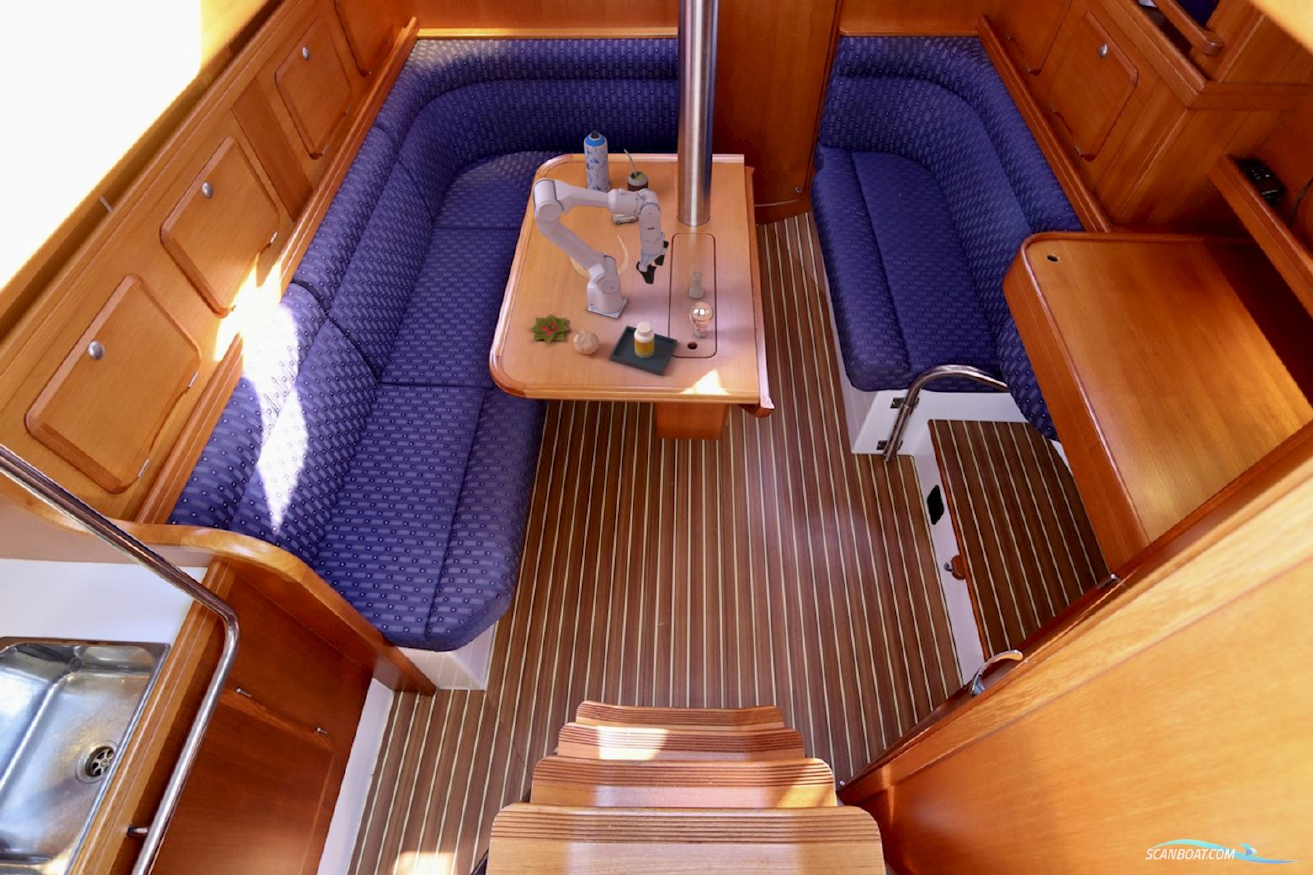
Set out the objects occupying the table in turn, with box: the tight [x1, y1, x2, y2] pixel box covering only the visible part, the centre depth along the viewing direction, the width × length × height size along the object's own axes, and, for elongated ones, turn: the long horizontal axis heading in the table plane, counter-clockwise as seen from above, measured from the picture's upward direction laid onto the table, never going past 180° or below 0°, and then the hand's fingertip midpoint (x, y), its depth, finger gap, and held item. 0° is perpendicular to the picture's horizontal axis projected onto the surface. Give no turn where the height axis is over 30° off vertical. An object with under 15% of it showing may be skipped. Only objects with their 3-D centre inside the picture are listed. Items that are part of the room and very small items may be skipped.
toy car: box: [612, 213, 638, 225], centre depth 211 cm, size 4×8×3 cm, turn 103°
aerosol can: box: [583, 129, 611, 193], centre depth 213 cm, size 8×8×20 cm
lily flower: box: [530, 314, 571, 345], centre depth 183 cm, size 12×12×5 cm
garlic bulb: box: [572, 330, 600, 355], centre depth 177 cm, size 7×6×8 cm
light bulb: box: [688, 300, 715, 338], centre depth 179 cm, size 7×7×12 cm
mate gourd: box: [623, 148, 649, 192], centre depth 213 cm, size 8×8×15 cm
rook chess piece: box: [688, 270, 704, 300], centre depth 190 cm, size 4×4×8 cm
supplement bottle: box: [634, 321, 655, 358], centre depth 176 cm, size 5×5×10 cm
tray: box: [609, 325, 678, 377], centre depth 179 cm, size 15×12×2 cm
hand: (654, 273), depth 183 cm, fingers open, 7 cm apart
